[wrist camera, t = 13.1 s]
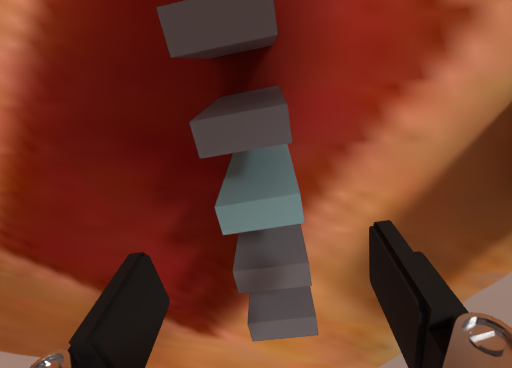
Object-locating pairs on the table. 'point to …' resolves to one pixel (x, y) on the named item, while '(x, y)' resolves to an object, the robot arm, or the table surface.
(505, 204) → the table surface
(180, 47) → the domino
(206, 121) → the domino
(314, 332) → the domino
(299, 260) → the domino
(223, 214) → the domino
